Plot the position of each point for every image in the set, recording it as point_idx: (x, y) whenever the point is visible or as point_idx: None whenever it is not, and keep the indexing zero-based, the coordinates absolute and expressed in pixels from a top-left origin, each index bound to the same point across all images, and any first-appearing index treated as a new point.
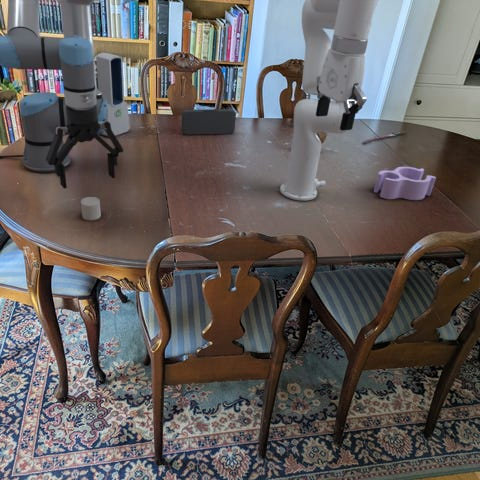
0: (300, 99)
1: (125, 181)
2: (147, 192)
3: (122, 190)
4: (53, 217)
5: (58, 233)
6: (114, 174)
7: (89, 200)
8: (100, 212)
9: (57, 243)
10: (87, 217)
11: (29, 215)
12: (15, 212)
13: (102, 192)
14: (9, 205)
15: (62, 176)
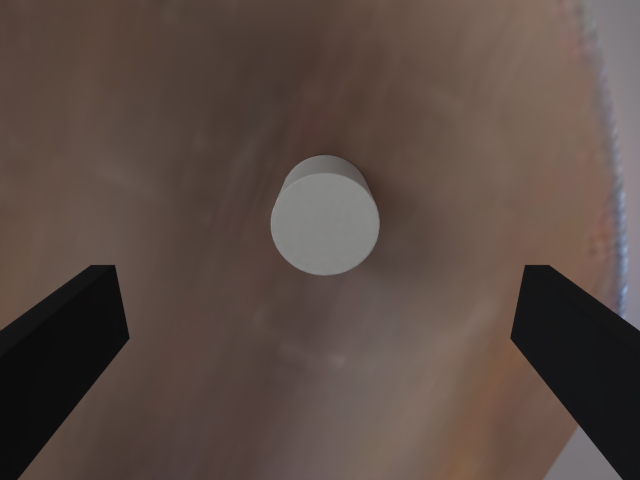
0: None
1: (83, 408)
2: (4, 288)
3: None
4: (477, 260)
5: (530, 113)
6: (73, 280)
7: (326, 234)
8: (283, 184)
9: (585, 15)
10: (358, 171)
11: None
12: None
13: (206, 366)
14: None
15: (634, 330)
